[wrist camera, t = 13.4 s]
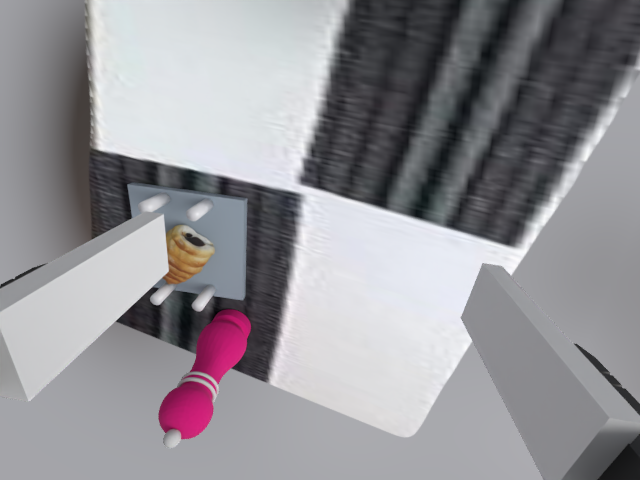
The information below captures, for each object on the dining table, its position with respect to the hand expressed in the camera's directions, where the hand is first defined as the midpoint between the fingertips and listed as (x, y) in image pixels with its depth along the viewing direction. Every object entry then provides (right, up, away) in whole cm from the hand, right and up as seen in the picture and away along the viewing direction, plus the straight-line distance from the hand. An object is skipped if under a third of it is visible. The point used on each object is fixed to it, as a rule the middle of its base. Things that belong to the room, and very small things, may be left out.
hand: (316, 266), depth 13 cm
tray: (-19, +1, +33) cm, 38 cm away
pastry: (-19, 0, +32) cm, 37 cm away
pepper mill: (-14, -13, +38) cm, 43 cm away
